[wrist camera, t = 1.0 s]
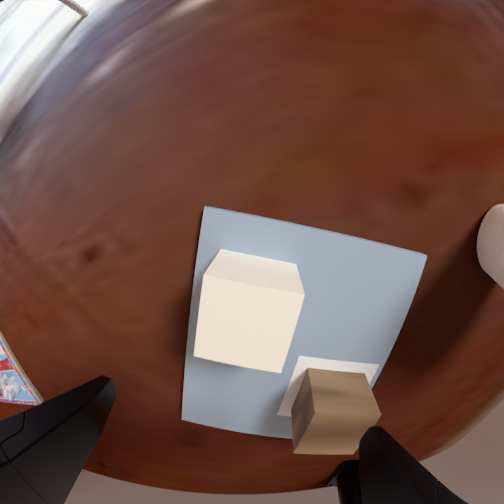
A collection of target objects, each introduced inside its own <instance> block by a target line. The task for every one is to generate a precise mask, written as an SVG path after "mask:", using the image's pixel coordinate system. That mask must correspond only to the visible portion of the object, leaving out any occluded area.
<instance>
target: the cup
mask: <svg viewBox="0 0 504 504" xmlns="http://www.w3.org/2000/svg"><path fill="white" fill-rule="evenodd" d="M477 255H478V260H479V263H480V265H481V267H482V269H483V270H484V271H485V272H486V273H487V274H488V275H489V276H490V277H491V278H493V279H494V280H495V281H496V282H497V283H498V284H499V285H500V286H501V287H502V288H503V289H504V204H498V205H495V206H494V207H492V208H491V209H490V210H489V211H488V212H487V214H486V215H485V217H484V219H483V221H482V223H481V225H480V229H479V232H478V237H477Z"/></svg>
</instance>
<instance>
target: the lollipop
mask: <svg viewBox="0 0 504 504" xmlns="http://www.w3.org/2000/svg"><path fill="white" fill-rule="evenodd" d="M1 1H3V0H0V2H1ZM59 1H61V2H62V3H64V4H65V5H67V6H68V7H70V8H71V9H73V10H74V11H76V12H77V13H79V14H80V15H82V16H83V17H86V16H87V15H88V14H89V12H88V11H87V10H86V9H84V8H83V7H82V6H80V5H79V4H77V3H76V2H75V1H73V0H59Z"/></svg>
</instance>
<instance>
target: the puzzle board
mask: <svg viewBox="0 0 504 504" xmlns="http://www.w3.org/2000/svg"><path fill="white" fill-rule="evenodd" d="M0 402H7V403H17V404H27V405H39V404H41V403H43V402H44V399H43V398H42V396H41V395H40V394H39V392H38V391H37V389H36V388H35V387H34V385H33V384H32V382H31V381H30V379H29V378H28V376H27V375H26V373H25V372H24V370H23V369H22V367H21V366H20V364H19V362H18V361H17V359H16V358H15V356H14V354H13V353H12V351H11V349H10V347H9V346H8V344H7V342H6V340H5V338H4V337H3V335H2V333H1V331H0Z"/></svg>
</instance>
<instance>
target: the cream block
mask: <svg viewBox="0 0 504 504" xmlns="http://www.w3.org/2000/svg"><path fill="white" fill-rule="evenodd" d="M304 296H305V293H304V290H303V286H302V283H301V279H300V275H299V272H298V268H297V265H296V264H293V263H288V262H283V261H278V260H273V259H268V258H263V257H258V256H253V255H248V254H243V253H238V252H233V251H228V250H223V249H220V251H219V252H218V254H217V255H216V257H215V258H214V260H213V261H212V263H211V264H210V266H209V267H208V269H207V270H206V272H205V273H204V275H203V282H202V289H201V297H200V305H199V313H198V321H197V329H196V338H195V347H194V356H195V357H199V358H203V359H208V360H212V361H217V362H221V363H226V364H231V365H236V366H241V367H246V368H252V369H257V370H263V371H269V372H276V373H281V372H282V369H283V366H284V363H285V360H286V357H287V353H288V350H289V347H290V344H291V341H292V337H293V334H294V331H295V328H296V324H297V321H298V317H299V314H300V311H301V307H302V304H303V300H304Z"/></svg>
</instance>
